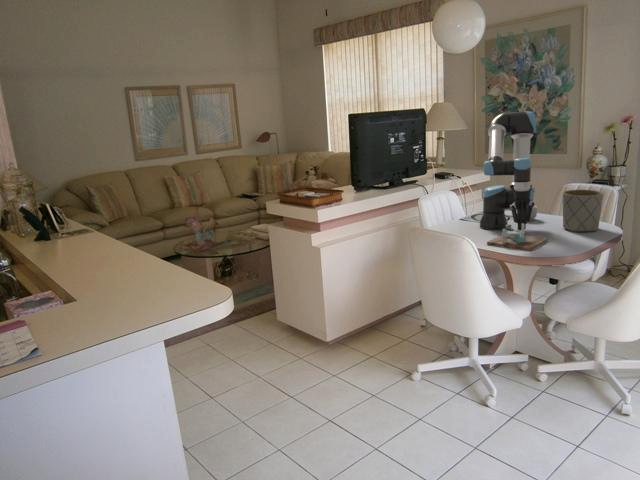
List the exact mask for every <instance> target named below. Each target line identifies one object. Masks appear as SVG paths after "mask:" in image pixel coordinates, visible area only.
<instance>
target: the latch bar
mask: <svg viewBox="0 0 640 480" xmlns="http://www.w3.org/2000/svg"><path fill="white" fill-rule="evenodd" d="M502 232H517V231H516V230H515V229H514V228H512V227H511V229H510V230H508V229H506V228H505V229H502ZM519 234H520V233H519ZM508 237H510V238H511V239H513V240H514V241H516V242H517V243H521V242H526V237H525V236H523V235H521V234H520V236H508Z"/></svg>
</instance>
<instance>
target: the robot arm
mask: <svg viewBox="0 0 640 480" xmlns="http://www.w3.org/2000/svg"><path fill="white" fill-rule="evenodd" d="M536 132H537V119H536V115H535V112H534V111H526V110H525V111H513V112H503V113H499V114H498V115H497V116H496V117H494V118H493V119H492V120H491V122H490V123H489V126H488V127H487V136H489V140H488V141H489V143H488V157H487V160H486V161H484V162H483V175H484V176H491V177H493V176H512V182H511V183H510V184H509V188H506V185H492V186H488V187H486V188H484V190H483V195H482V198H483V203H482V204H483V205H482V207H483V208H482V216H481V219H480V221H479V228H481V229H483V230H490V231H491V230H492V231H493V230H494V231H495V230H496V231H498V230H503V229H505V228H506V225H509V224H508V221H507V217H506V214H505V213H506V210H510V211H511V216H512V219H513V223H516V225H517V230H518V232H519V233H520V234H521V235H523V236H524V235H525V230H526V228H527V224H528V223H529V222H530V221H531V220H530V217H531V213H532V208H533V206H535V202H534V198H535V188H534V187H533V184H532V183H531V171H532V169H531V168H532V167H531V166H532V162H531V161H532V160H531V139H532V138H533V137H534V134H535V133H536ZM507 134H509V135H510V138H511V139H513V149H512V150H513V154H512V160H504V152H505V149H504V147H505V146H504V145H505V136H506V135H507Z"/></svg>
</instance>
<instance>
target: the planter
mask: <svg viewBox="0 0 640 480" xmlns="http://www.w3.org/2000/svg"><path fill="white" fill-rule="evenodd" d="M603 198H604V192H603V191H600V190H595V189H570V190H564V191H563V192H562V228H563V229H565V230H568V231H569V232H571V233H573V232H574V233H575V232H577V233H578V232H594V233H595V232H597V230H598V229H599V225H600V220H601V213H602V212H601V211H602V206H603V200H604V199H603Z"/></svg>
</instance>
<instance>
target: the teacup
mask: <svg viewBox="0 0 640 480" xmlns="http://www.w3.org/2000/svg"><path fill="white" fill-rule="evenodd" d="M537 215H538V206H537V205H534V206H533V208H532V213H531V217H530V221H532V220H534V219H535V218H537Z"/></svg>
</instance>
